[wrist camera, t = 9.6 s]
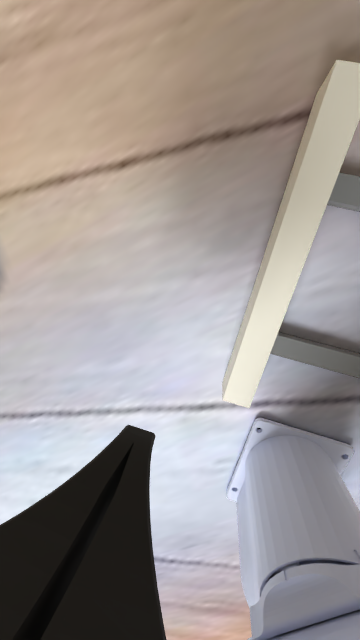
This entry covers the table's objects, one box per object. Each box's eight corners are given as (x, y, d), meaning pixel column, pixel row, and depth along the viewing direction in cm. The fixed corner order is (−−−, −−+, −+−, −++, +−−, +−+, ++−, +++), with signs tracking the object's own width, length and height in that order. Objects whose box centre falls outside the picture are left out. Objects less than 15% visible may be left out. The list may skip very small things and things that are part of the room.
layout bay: (337, 416, 19) (354, 440, 16) (222, 382, 20) (222, 400, 17) (493, 122, 13) (555, 92, 10) (316, 93, 14) (336, 59, 11)
